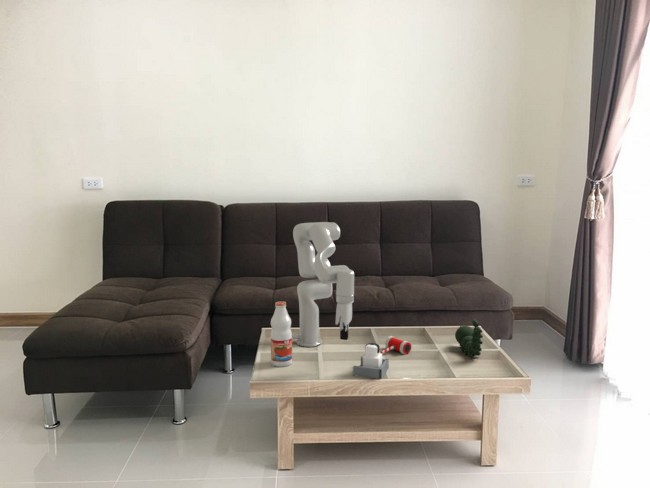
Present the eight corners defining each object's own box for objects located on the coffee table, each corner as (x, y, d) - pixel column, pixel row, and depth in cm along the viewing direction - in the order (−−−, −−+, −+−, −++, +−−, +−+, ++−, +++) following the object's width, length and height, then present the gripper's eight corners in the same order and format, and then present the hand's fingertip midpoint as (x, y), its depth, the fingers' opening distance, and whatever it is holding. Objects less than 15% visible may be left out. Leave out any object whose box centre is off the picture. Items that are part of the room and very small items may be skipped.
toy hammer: (376, 364, 261) (376, 350, 260) (359, 357, 270) (359, 343, 270) (412, 353, 275) (412, 340, 274) (394, 347, 284) (394, 334, 284)
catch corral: (353, 375, 246) (353, 366, 246) (361, 365, 259) (361, 356, 258) (381, 378, 243) (381, 369, 242) (388, 367, 255) (388, 359, 255)
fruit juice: (286, 358, 268) (285, 299, 264) (295, 364, 260) (295, 303, 256) (267, 362, 263) (266, 301, 259) (276, 368, 255) (275, 306, 251)
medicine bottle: (366, 367, 256) (366, 341, 254) (382, 369, 254) (382, 342, 252) (362, 373, 249) (362, 346, 247) (378, 375, 247) (378, 347, 245)
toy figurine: (486, 363, 265) (468, 341, 289) (489, 323, 261) (471, 305, 285) (466, 364, 264) (450, 342, 289) (468, 324, 260) (452, 305, 284)
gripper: (341, 292, 258) (340, 332, 262) (331, 301, 244) (330, 343, 248) (358, 294, 256) (357, 334, 259) (348, 303, 242) (347, 345, 245)
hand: (344, 338), depth 253 cm, fingers closed
